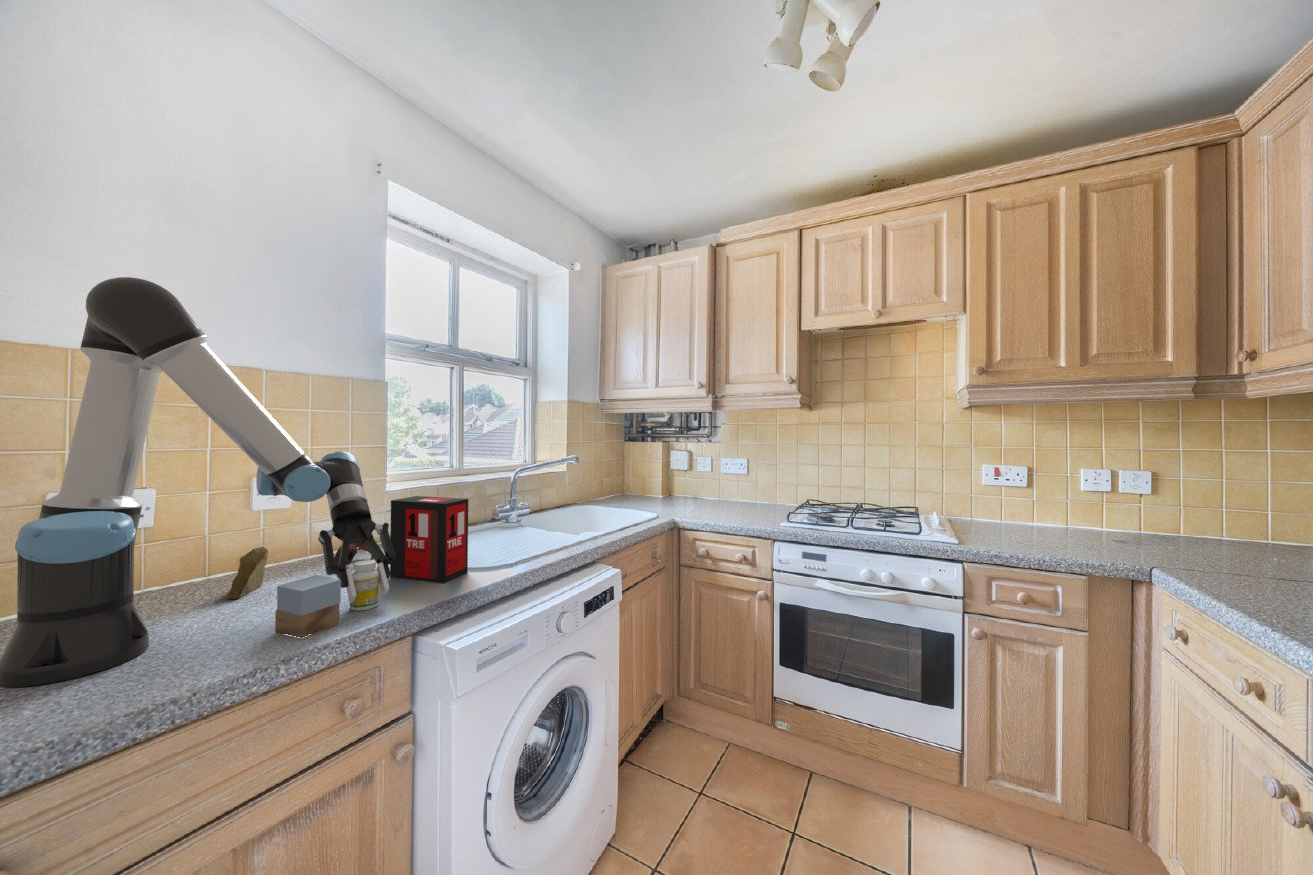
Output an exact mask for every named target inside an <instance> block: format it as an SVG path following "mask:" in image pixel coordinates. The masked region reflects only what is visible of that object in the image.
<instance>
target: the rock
mask: <svg viewBox="0 0 1313 875" xmlns="http://www.w3.org/2000/svg"><path fill="white" fill-rule="evenodd" d="M268 555H269V550H268V549H267V548H265V547H264V546H260V547H255V548H253V549H251V550H249V552H247V553H245V555H243V556H241V557H240V559H239V562H240V563H239V567H238V570H237V575H236V576H235V577H234V579H233V580H232V583H231V587H230V589H229V591H228V594H227V597H226V599H228V600H229V599H232V600H234V599H235V600H236V599H237V600H238V599H240V598H243V597H244V596H246V595H248V594H249V593H252V592H254V591H255V590H257V589H258V588H259V587H262V585H263V581H264V574H265V569H266V564H267V561H268Z"/></svg>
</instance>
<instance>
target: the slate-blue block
mask: <svg viewBox="0 0 1313 875" xmlns="http://www.w3.org/2000/svg"><path fill="white" fill-rule="evenodd" d="M341 589H342V588H341V580H340V579H339V578H334V577H330V576H329V577H327V576H323V575H318V574H316V575H312V576H309V577H305V578H301V579H298V580H294V581H290V582H286V583H284V584H279V585H277V587H276V590H277V592H276V593H277V594H276V598H277V599H276V601H277V602H276V610H279V611H284V612H288V613H292V614H297V615H301V616H303V615H306V614H309V613H312V612H315V611H317V610H320V609H323V608H326V607H329V606H332V605H335V604H338V603H342V602H341V601H342V600H341V599H342V598H341V597H342V595H341V594H342V590H341Z"/></svg>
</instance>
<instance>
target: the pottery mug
mask: <svg viewBox="0 0 1313 875" xmlns="http://www.w3.org/2000/svg"><path fill="white" fill-rule="evenodd" d="M341 547H342V544H341V545H340V546H339V548H338V549H337V551H336V553H335V555H334V560H335V565H338V566H339V560H340V554H341ZM360 550H362V551H363V552H368V553H369V554H370V552H369V551H368V549H367V548H366V546H364V545H363V544H362V543H353V544H350V546H349V552H348V558H347V565H346V566H348V565H351V564H352V562H353V560H354V558H355V556H356V555H357V554H358V551H360ZM370 555H371V554H370ZM369 560H374V558H373V557H372V555H371V557H370V559H369Z"/></svg>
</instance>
